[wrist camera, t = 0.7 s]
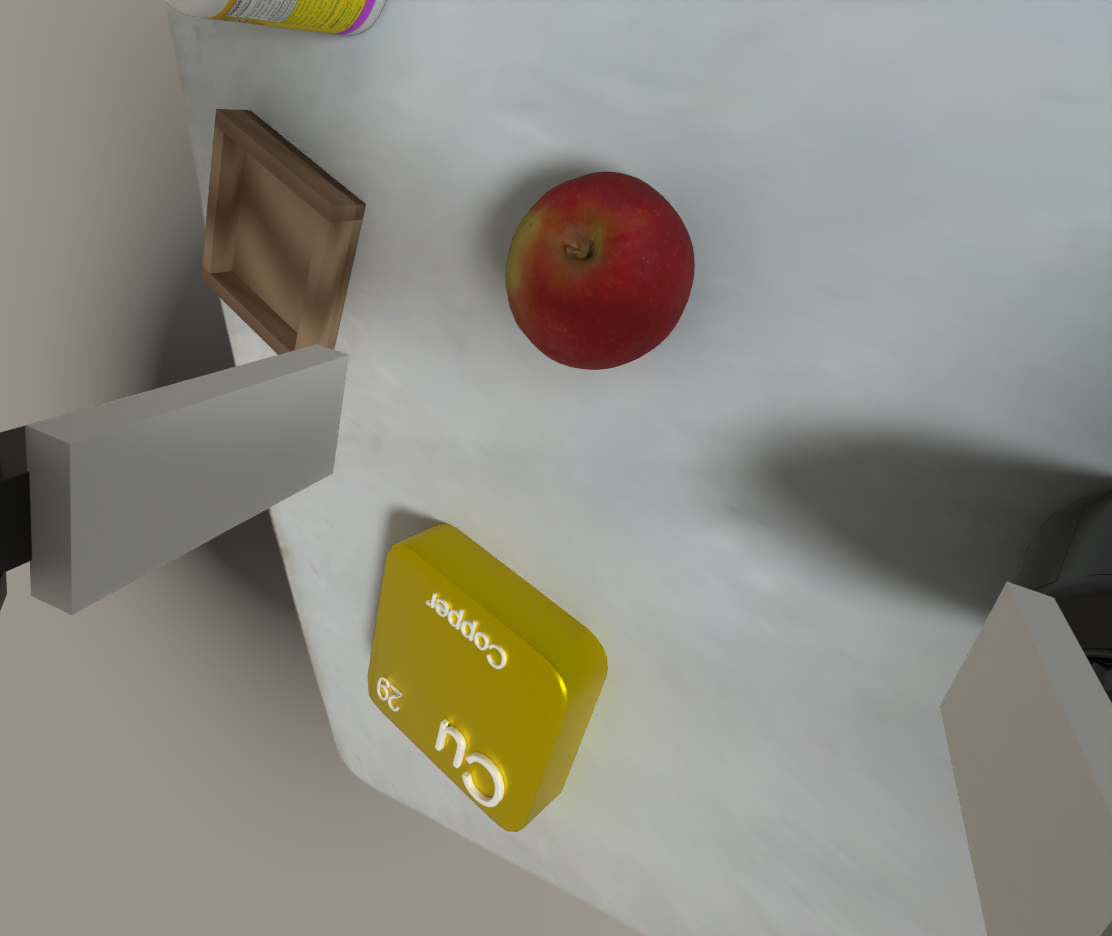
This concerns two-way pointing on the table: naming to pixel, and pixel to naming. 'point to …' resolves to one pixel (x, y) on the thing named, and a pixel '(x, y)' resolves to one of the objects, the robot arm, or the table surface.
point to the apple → (599, 271)
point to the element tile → (482, 672)
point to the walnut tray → (277, 235)
